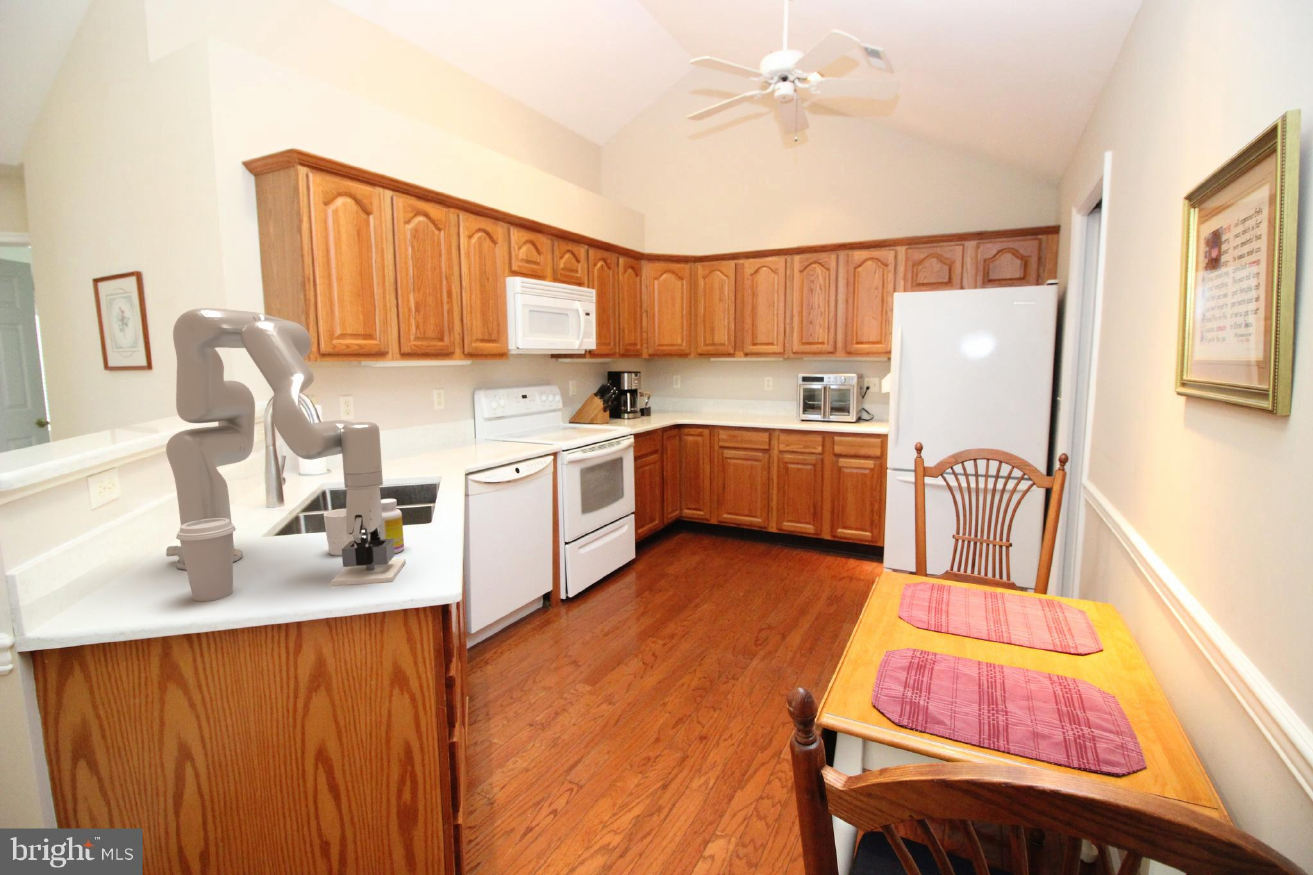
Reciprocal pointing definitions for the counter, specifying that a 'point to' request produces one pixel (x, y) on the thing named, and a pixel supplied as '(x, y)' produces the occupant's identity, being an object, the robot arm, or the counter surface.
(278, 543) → the counter surface
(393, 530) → the supplement bottle
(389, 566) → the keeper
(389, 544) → the link
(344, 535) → the white cup
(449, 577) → the counter surface
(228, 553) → the coffee cup
